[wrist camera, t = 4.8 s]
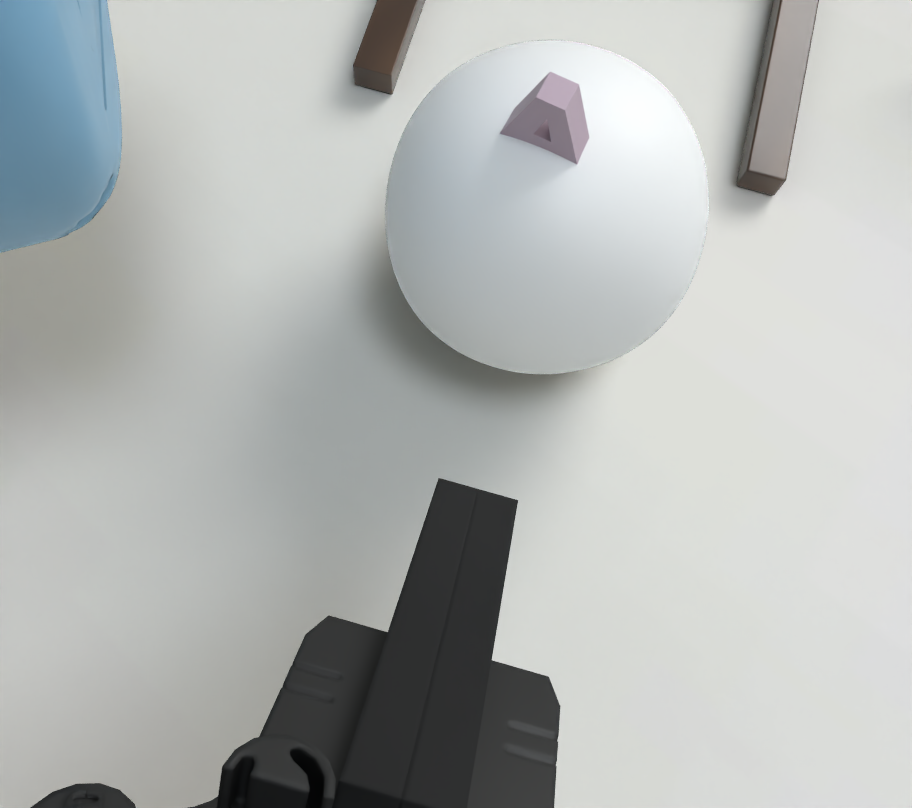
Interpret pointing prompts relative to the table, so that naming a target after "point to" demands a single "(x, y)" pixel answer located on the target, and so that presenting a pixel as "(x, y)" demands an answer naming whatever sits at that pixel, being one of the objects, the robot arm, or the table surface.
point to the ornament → (546, 207)
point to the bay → (770, 105)
